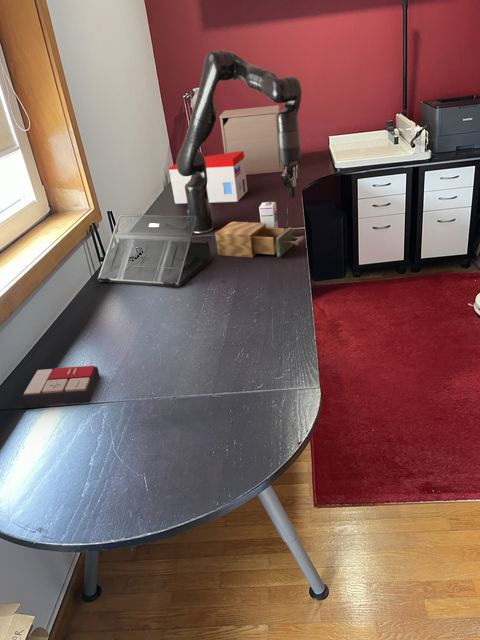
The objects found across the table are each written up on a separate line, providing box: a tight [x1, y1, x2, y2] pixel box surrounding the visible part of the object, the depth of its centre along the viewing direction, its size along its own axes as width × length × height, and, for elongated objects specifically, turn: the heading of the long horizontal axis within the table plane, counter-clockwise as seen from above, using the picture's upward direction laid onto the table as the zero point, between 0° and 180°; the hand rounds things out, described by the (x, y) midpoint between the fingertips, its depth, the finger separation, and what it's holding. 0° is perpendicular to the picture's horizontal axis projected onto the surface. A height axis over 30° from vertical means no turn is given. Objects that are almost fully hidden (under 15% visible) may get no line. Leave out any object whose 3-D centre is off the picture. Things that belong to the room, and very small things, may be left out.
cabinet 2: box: [214, 221, 266, 259], centre depth 195 cm, size 15×14×9 cm
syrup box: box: [258, 201, 279, 228], centre depth 201 cm, size 6×6×14 cm
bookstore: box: [168, 151, 248, 205], centre depth 268 cm, size 21×35×21 cm, turn 77°
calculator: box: [21, 365, 100, 409], centre depth 122 cm, size 11×4×15 cm
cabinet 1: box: [218, 104, 283, 176], centre depth 317 cm, size 35×29×34 cm
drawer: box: [251, 226, 305, 258], centre depth 189 cm, size 20×13×7 cm, turn 65°
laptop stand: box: [97, 214, 212, 288], centre depth 182 cm, size 33×28×18 cm
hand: (292, 197), depth 177 cm, fingers closed
